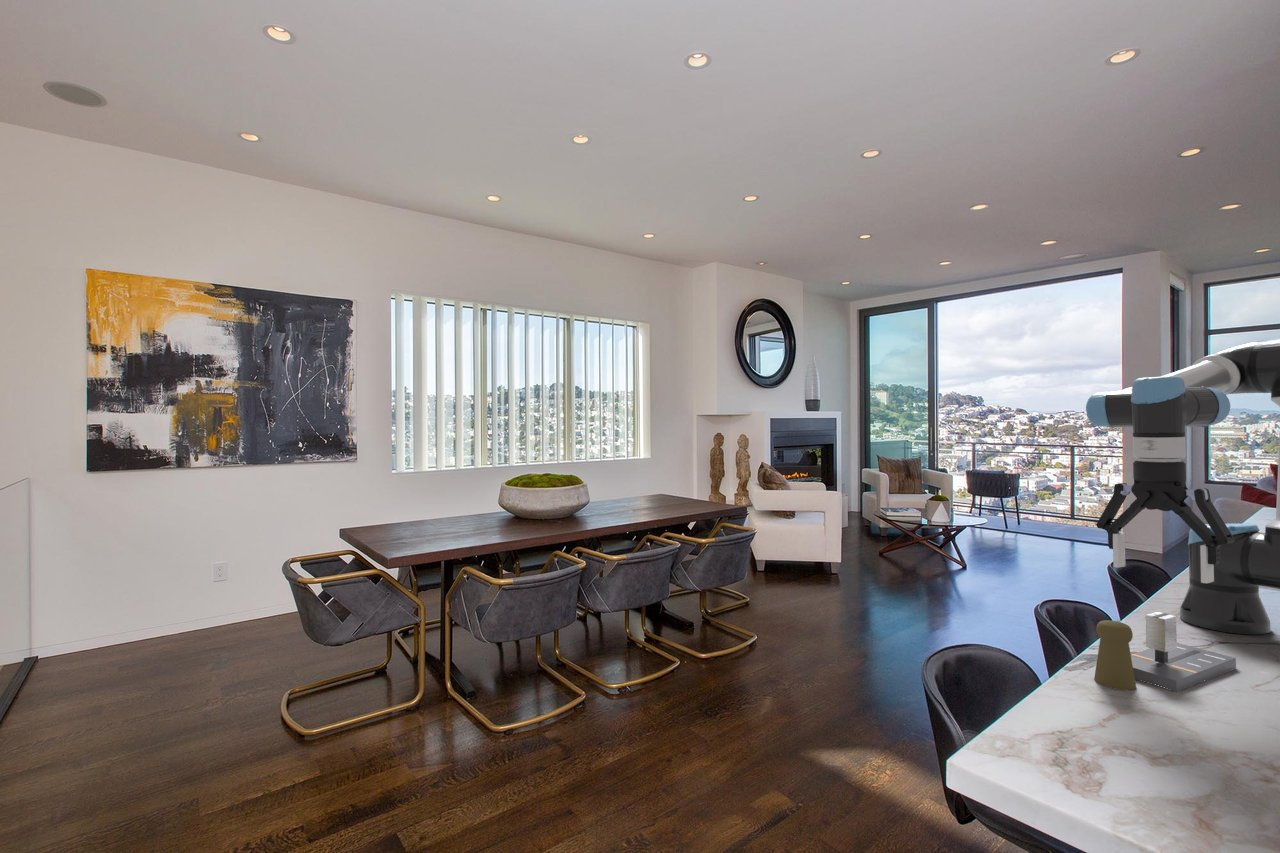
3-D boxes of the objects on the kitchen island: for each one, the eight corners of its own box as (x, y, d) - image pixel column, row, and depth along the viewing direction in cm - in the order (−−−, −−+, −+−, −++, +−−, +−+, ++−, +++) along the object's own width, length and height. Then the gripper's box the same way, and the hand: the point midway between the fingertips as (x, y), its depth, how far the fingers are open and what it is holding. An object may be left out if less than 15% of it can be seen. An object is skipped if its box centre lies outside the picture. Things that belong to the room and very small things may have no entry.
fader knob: (1157, 657, 117) (1157, 611, 117) (1177, 662, 114) (1176, 615, 114) (1146, 660, 115) (1145, 614, 115) (1165, 666, 112) (1164, 619, 112)
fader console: (1172, 651, 126) (1171, 641, 126) (1236, 668, 117) (1235, 657, 117) (1111, 671, 116) (1111, 660, 116) (1176, 692, 107) (1176, 680, 107)
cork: (1091, 683, 111) (1091, 622, 111) (1096, 673, 115) (1095, 614, 115) (1134, 693, 107) (1133, 630, 107) (1137, 682, 111) (1137, 621, 111)
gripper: (1074, 458, 124) (1077, 563, 124) (1237, 464, 101) (1239, 592, 101) (1096, 456, 127) (1098, 558, 127) (1258, 462, 105) (1260, 586, 105)
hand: (1161, 574), depth 114 cm, fingers open, 13 cm apart
